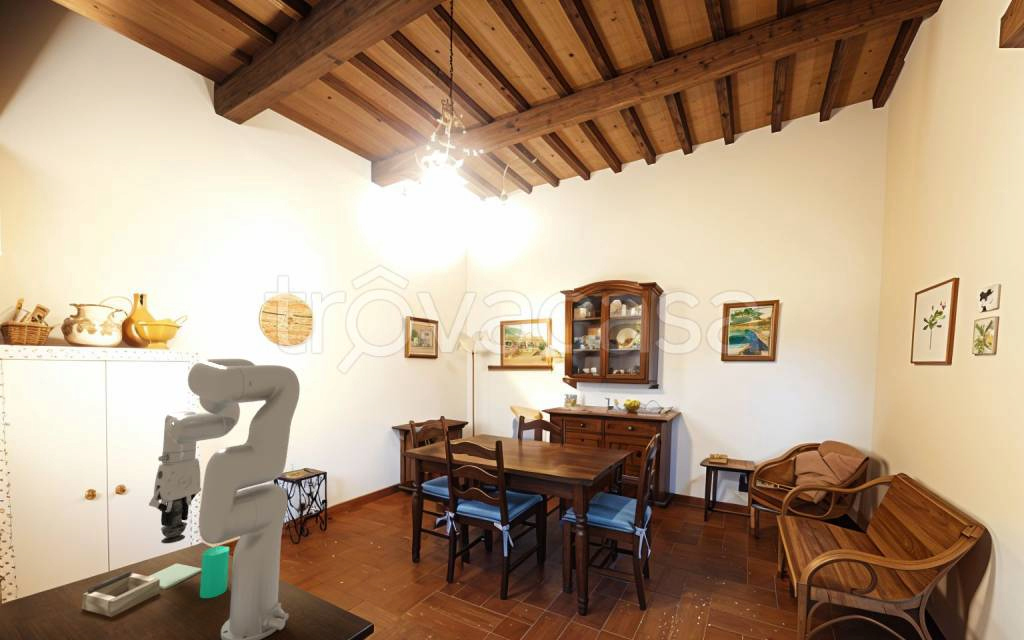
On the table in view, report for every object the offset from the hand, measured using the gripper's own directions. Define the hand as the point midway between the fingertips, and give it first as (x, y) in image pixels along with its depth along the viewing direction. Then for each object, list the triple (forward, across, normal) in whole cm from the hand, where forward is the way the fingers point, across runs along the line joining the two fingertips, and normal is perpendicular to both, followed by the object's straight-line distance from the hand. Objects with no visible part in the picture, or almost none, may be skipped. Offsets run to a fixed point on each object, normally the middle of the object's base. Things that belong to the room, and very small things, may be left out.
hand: (174, 521), depth 121 cm
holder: (+15, -12, 0) cm, 19 cm away
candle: (+15, -2, -18) cm, 24 cm away
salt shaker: (+5, 0, 0) cm, 5 cm away
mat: (+15, 0, 0) cm, 15 cm away
